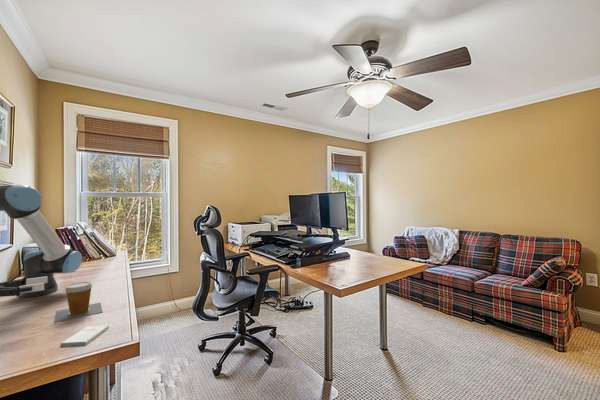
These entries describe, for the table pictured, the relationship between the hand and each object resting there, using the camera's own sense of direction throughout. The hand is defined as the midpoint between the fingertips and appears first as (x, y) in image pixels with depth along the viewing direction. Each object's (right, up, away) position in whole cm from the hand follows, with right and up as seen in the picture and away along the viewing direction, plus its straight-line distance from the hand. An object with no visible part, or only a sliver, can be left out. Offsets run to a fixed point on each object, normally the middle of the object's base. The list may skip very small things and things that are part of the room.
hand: (45, 282), depth 114 cm
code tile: (+8, -15, +7) cm, 19 cm away
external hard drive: (+29, -15, -15) cm, 36 cm away
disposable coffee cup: (+8, -15, +7) cm, 19 cm away
